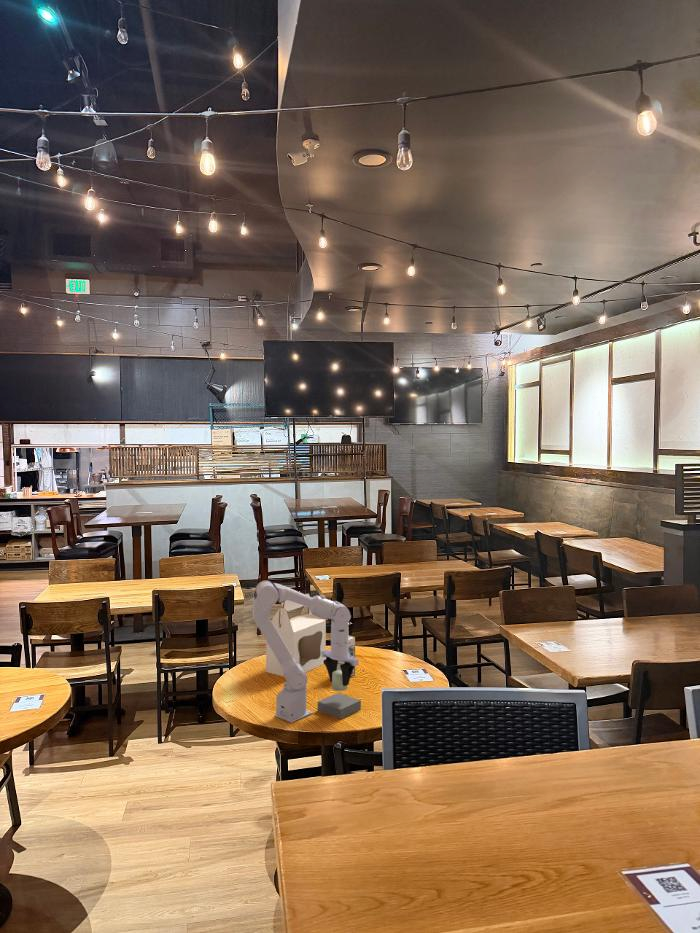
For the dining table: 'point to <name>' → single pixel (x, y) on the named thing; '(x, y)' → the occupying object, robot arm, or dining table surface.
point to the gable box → (298, 638)
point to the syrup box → (351, 652)
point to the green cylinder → (337, 681)
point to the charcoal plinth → (339, 705)
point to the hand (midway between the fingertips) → (339, 683)
